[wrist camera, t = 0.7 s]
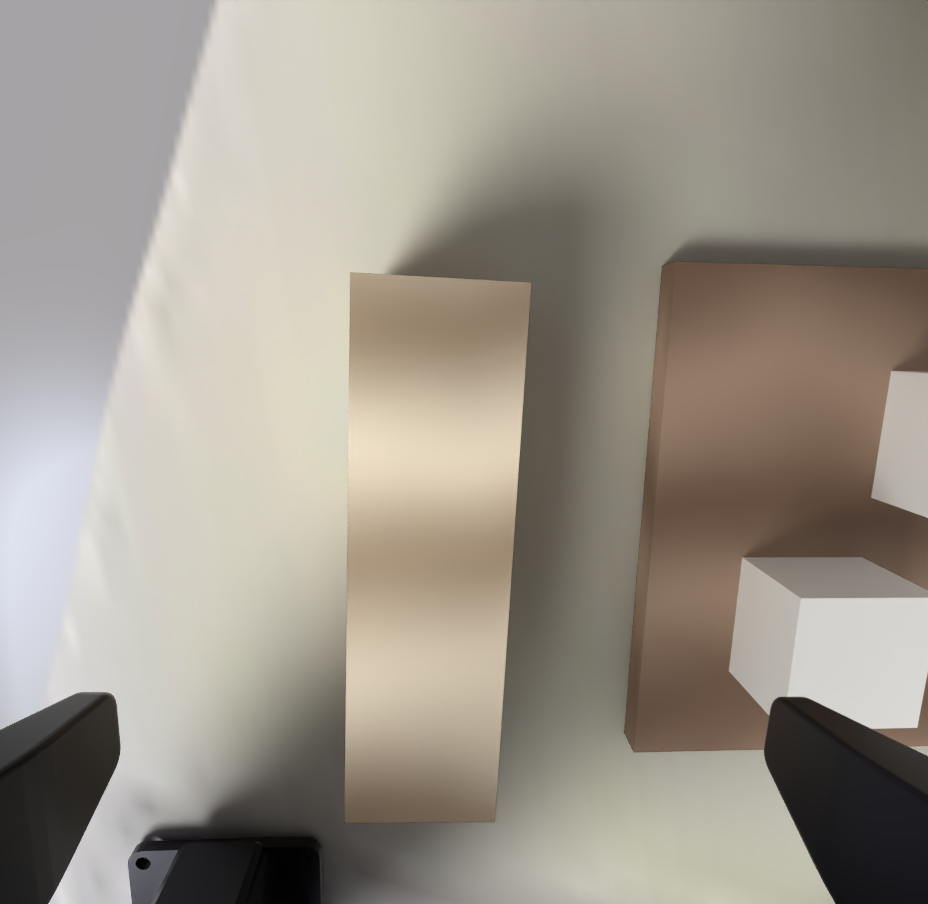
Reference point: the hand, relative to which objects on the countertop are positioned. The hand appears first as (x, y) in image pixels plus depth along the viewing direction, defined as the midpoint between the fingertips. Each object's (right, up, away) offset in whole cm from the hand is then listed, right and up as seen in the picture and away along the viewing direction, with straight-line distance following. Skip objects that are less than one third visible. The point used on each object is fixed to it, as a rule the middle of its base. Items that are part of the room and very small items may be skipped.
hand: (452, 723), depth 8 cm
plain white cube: (+11, -2, +11) cm, 16 cm away
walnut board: (+13, +1, +12) cm, 18 cm away
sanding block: (-1, +2, +11) cm, 11 cm away
